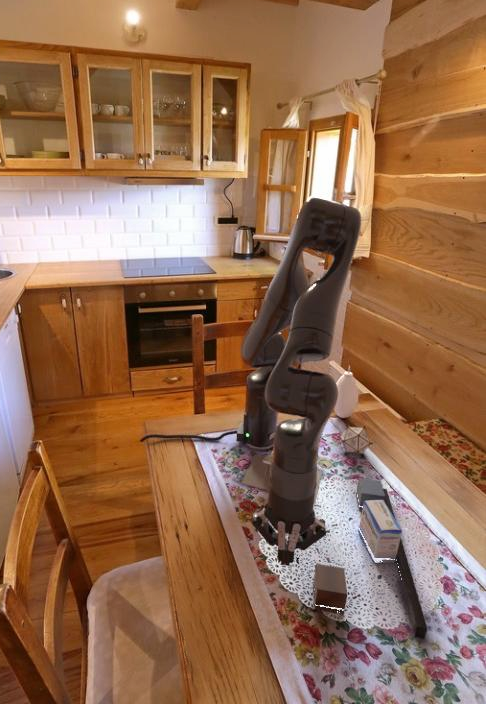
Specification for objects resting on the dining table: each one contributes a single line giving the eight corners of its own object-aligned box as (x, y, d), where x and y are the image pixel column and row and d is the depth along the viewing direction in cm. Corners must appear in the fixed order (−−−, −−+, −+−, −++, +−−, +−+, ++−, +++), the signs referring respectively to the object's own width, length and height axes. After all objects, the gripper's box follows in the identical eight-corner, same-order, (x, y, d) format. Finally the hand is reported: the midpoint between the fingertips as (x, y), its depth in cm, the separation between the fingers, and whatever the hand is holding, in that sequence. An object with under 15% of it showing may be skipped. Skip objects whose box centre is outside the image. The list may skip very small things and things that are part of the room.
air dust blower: (331, 421, 126) (337, 369, 120) (328, 408, 134) (335, 358, 128) (357, 424, 125) (365, 372, 119) (353, 411, 132) (360, 360, 126)
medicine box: (357, 531, 87) (363, 499, 84) (377, 530, 88) (383, 498, 85) (373, 564, 80) (380, 531, 77) (395, 563, 80) (403, 529, 77)
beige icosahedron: (354, 459, 115) (374, 431, 115) (362, 470, 107) (384, 439, 106) (328, 441, 116) (348, 412, 116) (333, 449, 107) (355, 418, 107)
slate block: (358, 510, 93) (361, 493, 91) (355, 494, 97) (358, 477, 96) (381, 513, 92) (385, 496, 90) (377, 497, 97) (380, 480, 95)
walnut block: (314, 609, 71) (317, 589, 70) (313, 583, 76) (315, 563, 74) (343, 615, 70) (347, 594, 69) (340, 587, 75) (344, 568, 73)
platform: (255, 454, 111) (256, 433, 109) (322, 471, 105) (324, 450, 103) (241, 483, 100) (242, 461, 98) (314, 504, 94) (317, 481, 92)
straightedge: (414, 637, 67) (417, 626, 66) (378, 496, 97) (379, 487, 96) (424, 639, 67) (427, 628, 66) (385, 497, 97) (386, 488, 96)
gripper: (332, 471, 69) (321, 549, 74) (254, 461, 71) (249, 538, 76) (336, 504, 62) (324, 587, 67) (249, 492, 64) (245, 574, 70)
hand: (284, 561), depth 72 cm, fingers closed
